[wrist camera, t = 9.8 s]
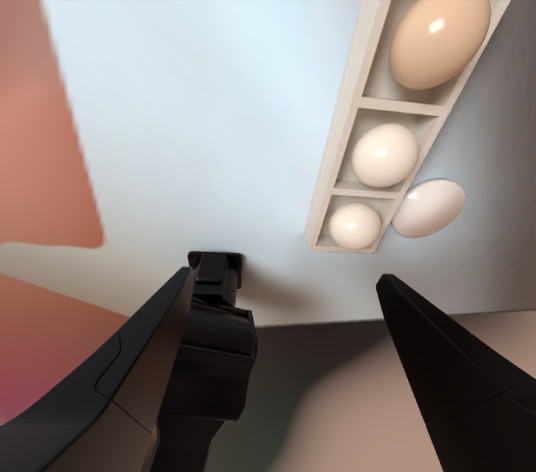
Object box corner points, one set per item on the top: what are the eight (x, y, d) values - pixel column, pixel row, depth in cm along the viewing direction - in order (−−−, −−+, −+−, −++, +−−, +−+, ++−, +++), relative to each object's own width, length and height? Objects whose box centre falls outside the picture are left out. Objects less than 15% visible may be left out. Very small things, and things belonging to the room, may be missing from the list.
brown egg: (420, 89, 16) (474, 97, 12) (364, 83, 15) (404, 89, 12) (460, -1, 13) (545, -25, 10) (393, -14, 12) (457, -45, 9)
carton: (362, 235, 26) (373, 252, 23) (303, 232, 25) (308, 250, 23) (485, -25, 13) (534, -45, 11) (373, -44, 12) (399, -70, 10)
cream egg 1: (359, 231, 24) (377, 261, 20) (319, 229, 24) (330, 259, 20) (375, 194, 21) (400, 221, 18) (330, 191, 21) (346, 218, 17)
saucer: (434, 234, 26) (438, 239, 25) (380, 232, 25) (383, 236, 25) (474, 180, 22) (480, 184, 21) (409, 175, 21) (414, 179, 20)
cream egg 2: (384, 175, 20) (412, 199, 16) (336, 171, 20) (354, 195, 16) (409, 120, 17) (450, 135, 13) (354, 114, 17) (380, 128, 13)
